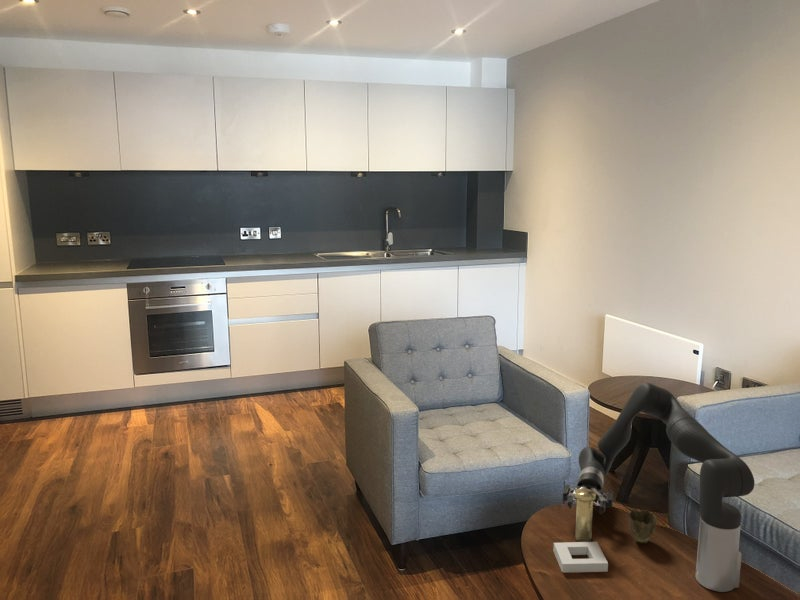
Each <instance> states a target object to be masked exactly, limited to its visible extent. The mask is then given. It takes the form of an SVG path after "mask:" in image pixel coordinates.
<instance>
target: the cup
mask: <svg viewBox="0 0 800 600" xmlns="http://www.w3.org/2000/svg"><path fill="white" fill-rule="evenodd" d="M657 519H658V516H656V514H653V512H650V511H649V509H646V510H644V509H640V511H637V509H631V510H630V511H629V513H628V520H629V529H630V532H631V534H632V535H633V536H634V540H635V541H636V542H637V543H639V544H647V543H648V541H649V539H650V538H651V537H652V536H653V535H654V533H655V529H656V525H657Z"/></svg>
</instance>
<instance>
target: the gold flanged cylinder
mask: <svg viewBox="0 0 800 600" xmlns="http://www.w3.org/2000/svg"><path fill="white" fill-rule="evenodd" d="M575 497H576V498H577V502H576V513H575V515H576V516H575V535H574V536H575V539H576V541H577V542H592V532H593V531H592V530H593V509H594V507H593V506H594V502H593V501H594V500H595V499H596V493H595V492H594V491H592V490H590V489H585V488H581V489H577V490H575Z"/></svg>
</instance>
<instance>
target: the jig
mask: <svg viewBox="0 0 800 600" xmlns="http://www.w3.org/2000/svg"><path fill="white" fill-rule="evenodd" d="M553 554H554V556H555V558H556V561H557V563H558V565H559V568H560V570H561V573H562V572H563V573H564V574H565V573H567V574H568V573H598V572H599V573H603V572H607V573H608V571H609V563H608V560H607V558H606V556H605V554H604V553H603V550H602V549H601V547H600V545H599V544H598V542H597V541H590V542H580V541H577V542H575V541H571V542H570V541H569V542H568V541H567V542H565V541H564V542H553ZM586 555H587V558H573V557H572V556H586Z"/></svg>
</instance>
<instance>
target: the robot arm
mask: <svg viewBox="0 0 800 600" xmlns="http://www.w3.org/2000/svg"><path fill="white" fill-rule="evenodd" d="M640 413H643V414H646V415H648V416H651V417H653V418H655V419H658V420H659V421H662V423H664V424H665V425H666V428H665V431H666V435H667V438H668V439H669V441H670V442H671V443H672V444H673V446H674V447H675V448H676V449H677V450H678V451H679V452H680V453H682V454H683V455H684V456H686V457H688V458H690V459H693V460H695V461H697V462H699V463H702V464H701V467H700V471H699V496H698V497H699V502H698V503H699V510H700V515H699V516H700V517H699V527H698V541H697V553H696V555H697V556H696V564H695V565H696V567H695V579H696V581H697V582H698V583H699V584H700V585H701V587H702V586H703V587H704V588H706V589H708V590H710V591H714V592H719V593H725V592H730V591H731V592H732V590H734V589H736V588H737V589H738V588H740V579H741V578H740V577H741V576H740V575H741V567H742V555H743V554H742V552H741V551H740V550H739V549H740V547H739V546H740V537H741V526H742V525H741V523H742V513H741V512H740V510H739V509H738V508H737V507H735V506H734V505H733V504H729V503H727V502H724V501H723V498H738V497H745V496H747V495H749V494H750V493H752V492H753V490H754V488H755V478H754V475H753V472H752V470H751V469H750V467H749V466H748V464H747V463H746V462H745V461H744V460H743V459H741V458H740V457H739V456H738V455H736V454H735V453H733V451H732V450H729V449H728V448H727V447H726V446H724V445H723V444H722V443H721V442H720V441H719V440H717V438H715V437H714V436H713V435H712V434H711V433H710V432H709V431H708V430H707V429H706V428H705V427H704V426H703V425H702V424H701V423H700V422H699V421H698V420H697V419H696V418H694V417H693V416H692V415H691V414H690V413H689V411H687V410H686V409H684V407H682V405H681V404H680V402H679V401H678V400H677V398H676V397H675V396H674V394H672V392H671V391H669V390H668V389H665V388H662V387H660V386H657V385H656V384H653V383H649V382H643V383H641V384H639V385H638V386H637V387H636V388H635V389H634V391H633V392H632V394H631V396H630V397H629V399H628V400H627V401H626V403H625V404H624V407H623V408H622V410H621V411H620V413H619V415H618V416H617V418H616V420H615V421H614V422H613V424H612V425H611V427H609V428H608V430H607V431H606V432H605V433H604V434H603V435H602V436H601V438H600V439H599V440H598V441H597V447H598V449H599V450H598V449H596V448H595V447H593V446H586V447H585V446H584V448H583V449H581V451H580V452H579V455H578V466H579V467H580V473H579V476H578V479H577V485H576V486H575V487H574V488H573V487H571V485H569V484H565V486H564V489H563V491H562V501H563V502H566V506H567V507H568V508H569V509H571V510H572V509H573V505H574V503H577V498H576V497H575V490H577V489H581V488H585V489H590V490H592V491H594V492H595V493H596V499H595V500H594V501H593V504H595V505H596V506H597V507H598V506H599V514H603V513H605V512H606V508H608V509H612V508H613V501H614V500H613V498H614V496H613V491H611V490H609V491H608V492H604V491H603V488H604V477H605V476H606V475H607V474H608V473H609V471H610V470H611V467H612V464H613V462H614V461H615V458H616V457H617V456H618V454H619V453H620V452H621V451H622V450H623V449H624V448H625V447H626V446H627V444H628V443H629V441H630V439H631V436H632V430H633V429H632V427H633V426H632V425H633V421H634V419H635V418H636V417H637V415H638V414H640Z"/></svg>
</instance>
